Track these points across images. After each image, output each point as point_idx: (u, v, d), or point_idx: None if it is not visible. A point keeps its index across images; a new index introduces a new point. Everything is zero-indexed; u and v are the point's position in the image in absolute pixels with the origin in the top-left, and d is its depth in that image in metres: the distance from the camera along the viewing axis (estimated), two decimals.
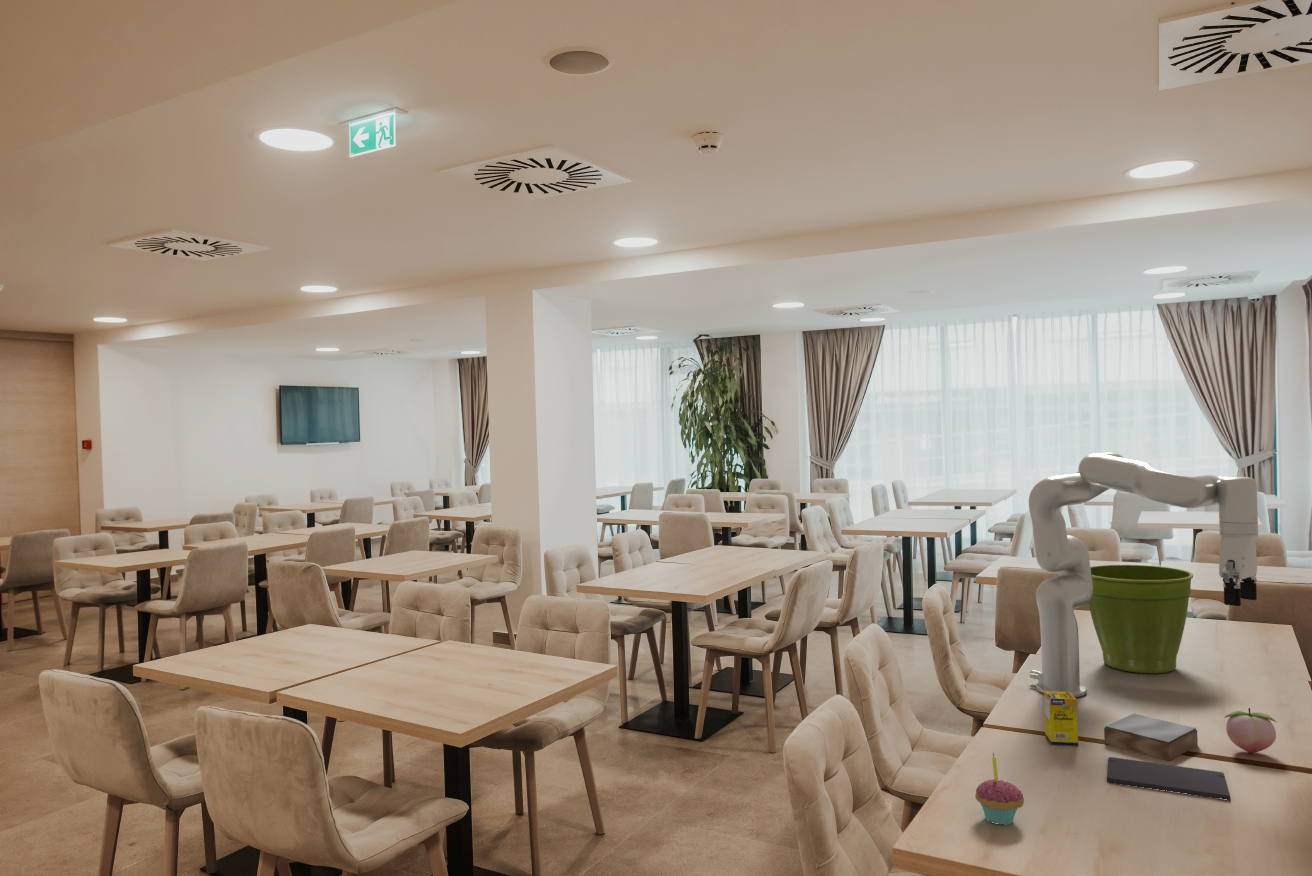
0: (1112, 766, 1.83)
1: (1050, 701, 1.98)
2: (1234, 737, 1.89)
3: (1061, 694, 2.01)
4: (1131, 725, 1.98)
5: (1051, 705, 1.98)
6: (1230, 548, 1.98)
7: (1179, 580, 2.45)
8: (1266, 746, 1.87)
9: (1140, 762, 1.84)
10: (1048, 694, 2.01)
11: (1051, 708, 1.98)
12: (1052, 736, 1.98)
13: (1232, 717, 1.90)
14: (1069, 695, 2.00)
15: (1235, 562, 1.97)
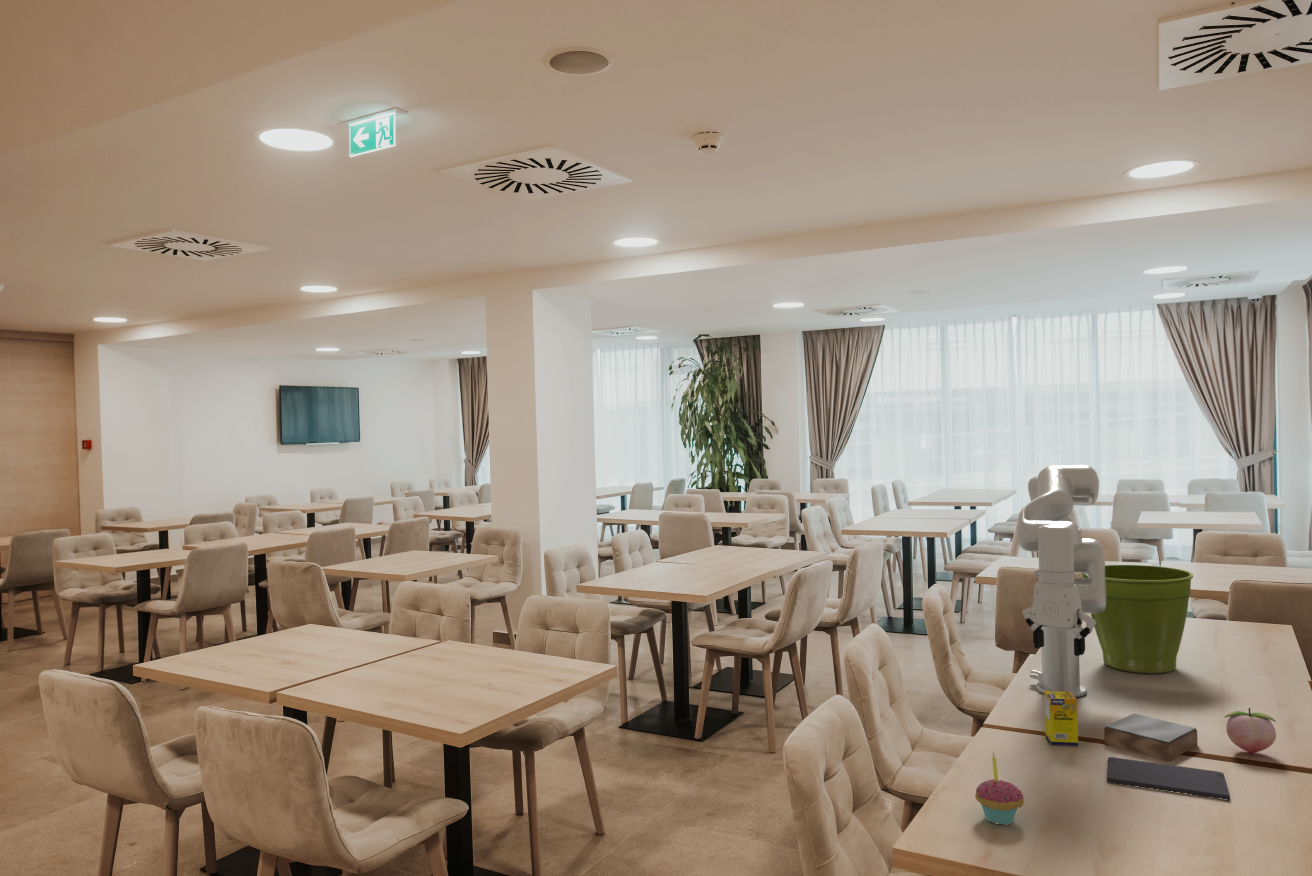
0: (1112, 766, 1.83)
1: (1050, 701, 1.98)
2: (1234, 737, 1.89)
3: (1061, 694, 2.01)
4: (1131, 725, 1.98)
5: (1051, 705, 1.98)
6: (1077, 597, 1.96)
7: (1179, 580, 2.45)
8: (1266, 746, 1.87)
9: (1140, 762, 1.84)
10: (1048, 694, 2.01)
11: (1051, 708, 1.98)
12: (1052, 736, 1.98)
13: (1232, 717, 1.90)
14: (1069, 695, 2.00)
15: (1080, 610, 1.97)
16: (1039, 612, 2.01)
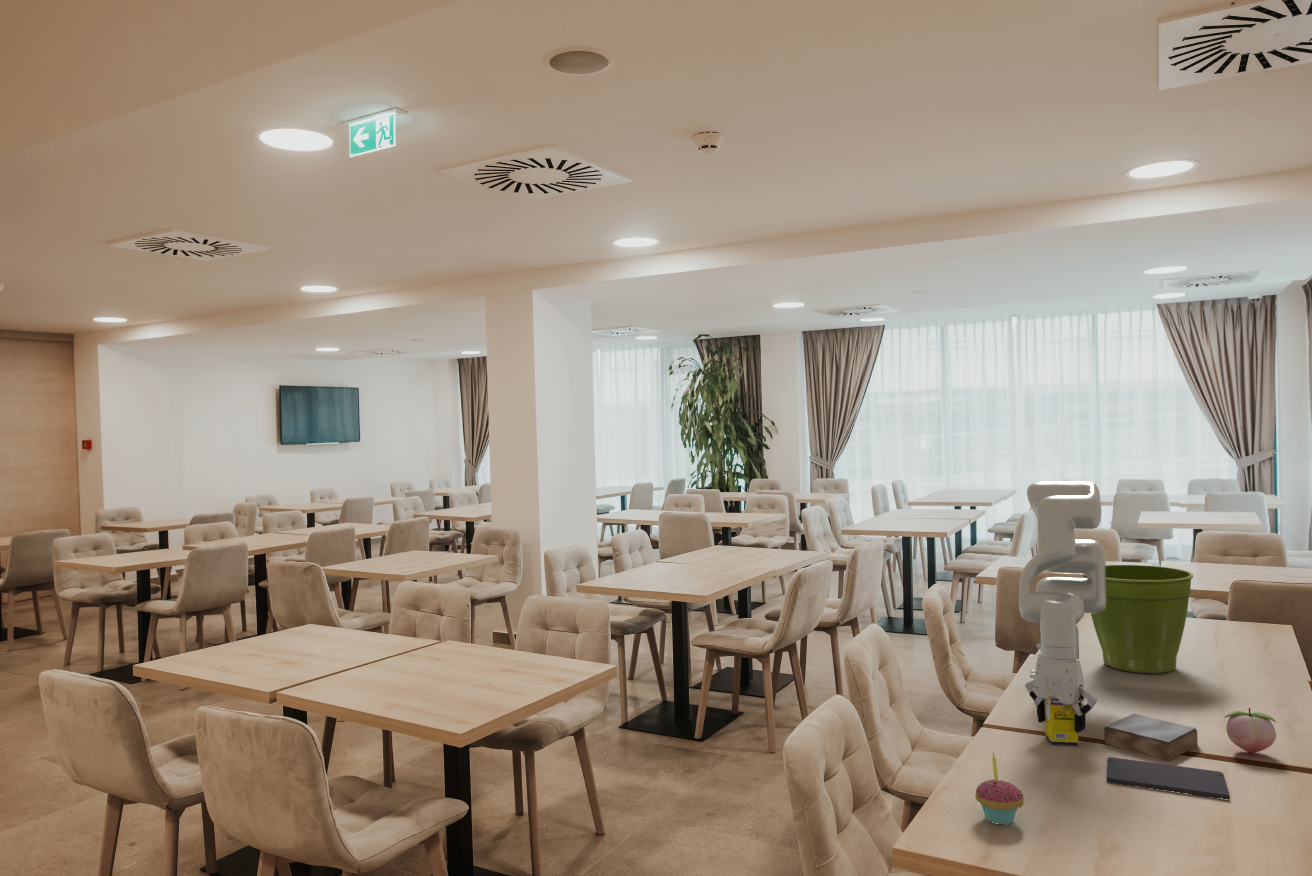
0: (1112, 766, 1.83)
1: (1050, 701, 1.98)
2: (1234, 737, 1.89)
3: None
4: (1131, 725, 1.98)
5: (1051, 705, 1.98)
6: (1079, 673, 1.96)
7: (1179, 580, 2.45)
8: (1266, 746, 1.87)
9: (1139, 762, 1.84)
10: None
11: (1051, 708, 1.98)
12: (1052, 736, 1.98)
13: (1232, 717, 1.90)
14: None
15: (1082, 686, 1.97)
16: (1041, 686, 2.01)
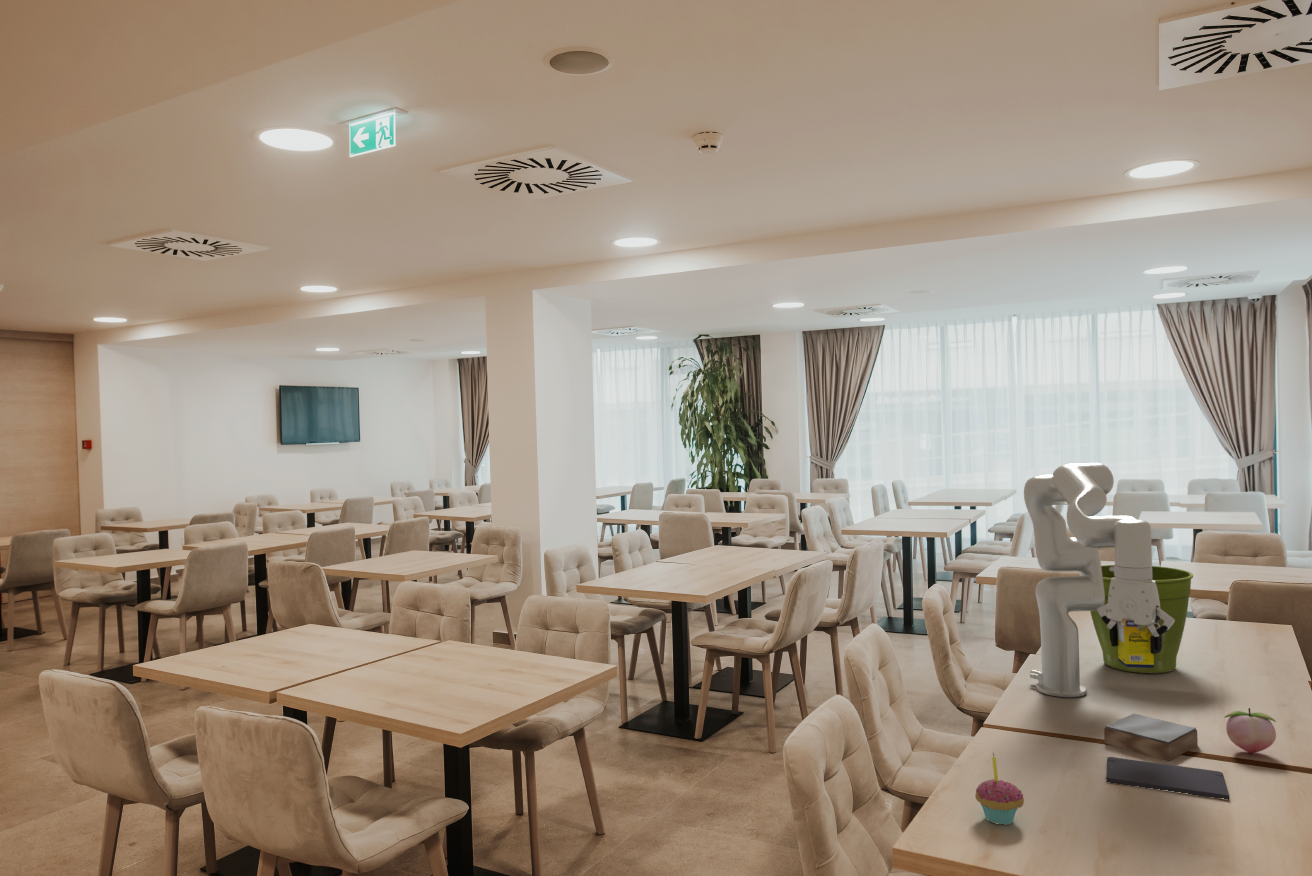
0: (1111, 765, 1.83)
1: (1125, 623, 1.95)
2: (1234, 737, 1.89)
3: None
4: (1131, 725, 1.98)
5: (1126, 627, 1.95)
6: (1155, 593, 1.93)
7: (1179, 580, 2.45)
8: (1266, 746, 1.87)
9: (1139, 762, 1.84)
10: None
11: (1126, 630, 1.95)
12: (1127, 658, 1.95)
13: (1232, 717, 1.90)
14: None
15: (1158, 607, 1.94)
16: (1115, 608, 1.98)
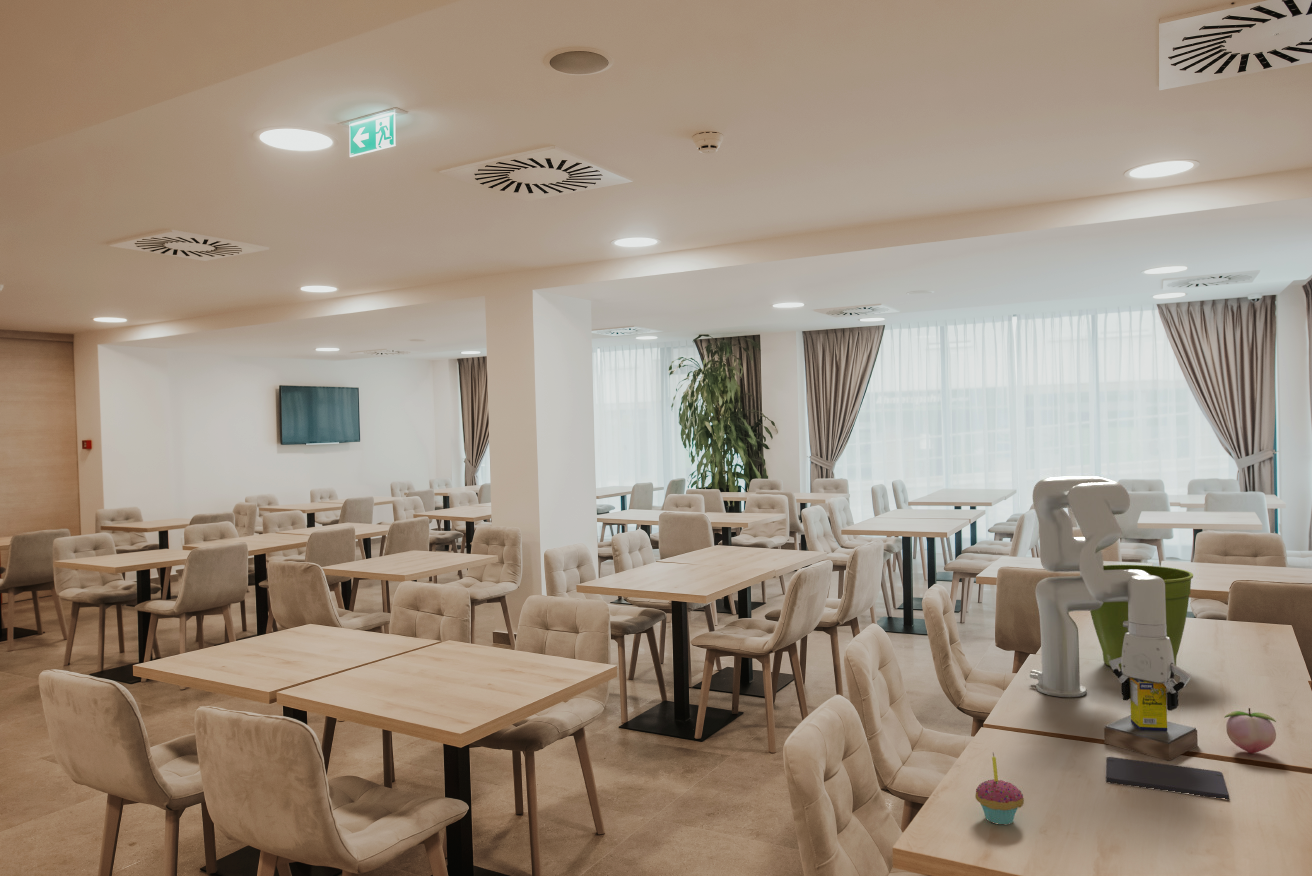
0: (1111, 765, 1.83)
1: (1138, 685, 1.95)
2: (1234, 737, 1.89)
3: None
4: (1131, 725, 1.98)
5: (1139, 690, 1.95)
6: (1170, 650, 1.93)
7: (1179, 580, 2.45)
8: (1266, 746, 1.87)
9: (1139, 762, 1.84)
10: (1135, 679, 1.98)
11: (1139, 693, 1.95)
12: (1140, 721, 1.95)
13: (1232, 717, 1.90)
14: None
15: None
16: (1129, 664, 1.97)
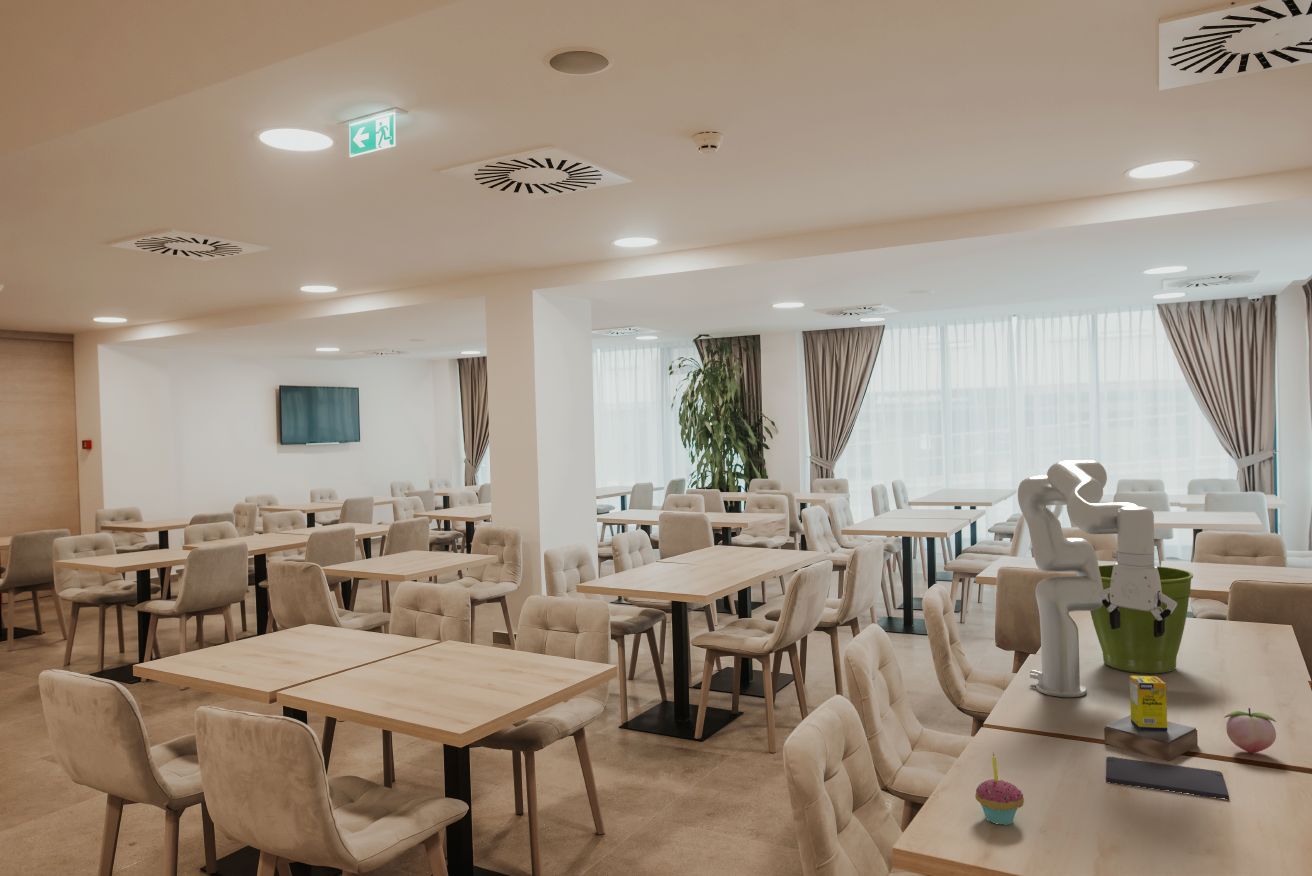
0: (1111, 765, 1.83)
1: (1138, 685, 1.95)
2: (1234, 737, 1.89)
3: (1148, 679, 1.97)
4: (1131, 725, 1.98)
5: (1139, 690, 1.95)
6: (1157, 579, 1.96)
7: (1179, 580, 2.45)
8: (1266, 746, 1.87)
9: (1139, 761, 1.84)
10: (1135, 679, 1.98)
11: (1139, 693, 1.95)
12: (1140, 721, 1.95)
13: (1232, 717, 1.90)
14: (1157, 679, 1.96)
15: None
16: (1117, 594, 2.01)
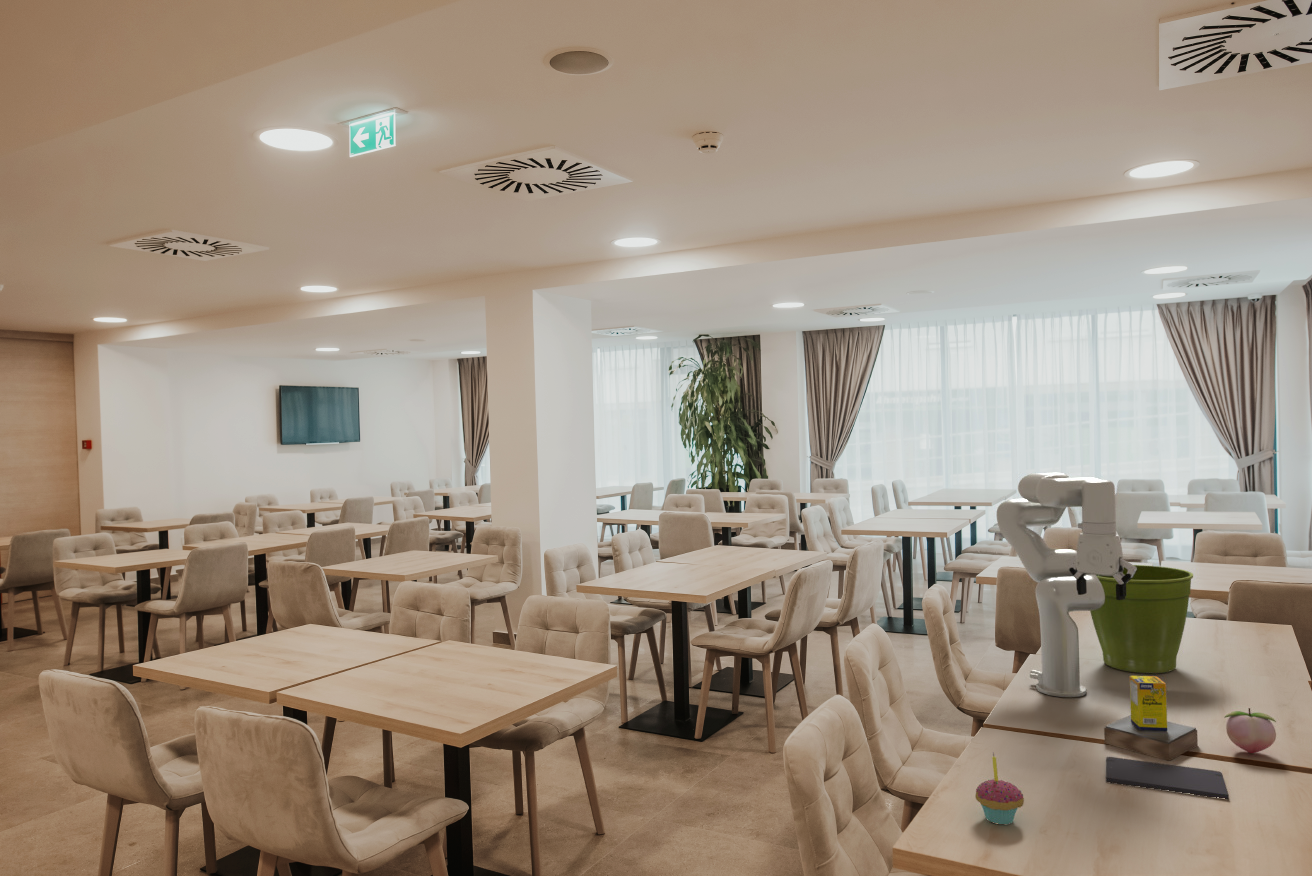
0: (1111, 765, 1.83)
1: (1138, 685, 1.95)
2: (1234, 737, 1.89)
3: (1148, 679, 1.97)
4: (1131, 725, 1.98)
5: (1139, 689, 1.95)
6: (1118, 546, 2.12)
7: (1179, 580, 2.45)
8: (1266, 746, 1.87)
9: (1138, 762, 1.84)
10: (1135, 679, 1.98)
11: (1139, 693, 1.95)
12: (1140, 721, 1.95)
13: (1232, 717, 1.90)
14: (1157, 679, 1.96)
15: (1121, 558, 2.12)
16: (1083, 561, 2.17)
